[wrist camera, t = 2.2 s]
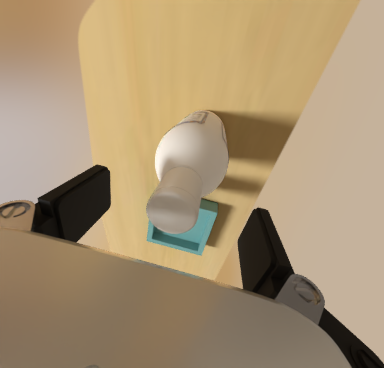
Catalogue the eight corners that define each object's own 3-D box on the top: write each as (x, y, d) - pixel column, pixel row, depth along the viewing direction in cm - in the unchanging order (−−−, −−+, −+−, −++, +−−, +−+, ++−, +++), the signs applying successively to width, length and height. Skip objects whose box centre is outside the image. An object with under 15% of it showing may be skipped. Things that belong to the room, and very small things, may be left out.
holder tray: (157, 187, 33) (152, 195, 30) (217, 203, 32) (217, 212, 30) (151, 230, 39) (146, 240, 36) (202, 244, 38) (201, 255, 36)
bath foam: (172, 138, 27) (93, 219, 10) (197, 99, 24) (142, 121, 7) (206, 162, 29) (187, 272, 11) (234, 128, 25) (267, 210, 8)
